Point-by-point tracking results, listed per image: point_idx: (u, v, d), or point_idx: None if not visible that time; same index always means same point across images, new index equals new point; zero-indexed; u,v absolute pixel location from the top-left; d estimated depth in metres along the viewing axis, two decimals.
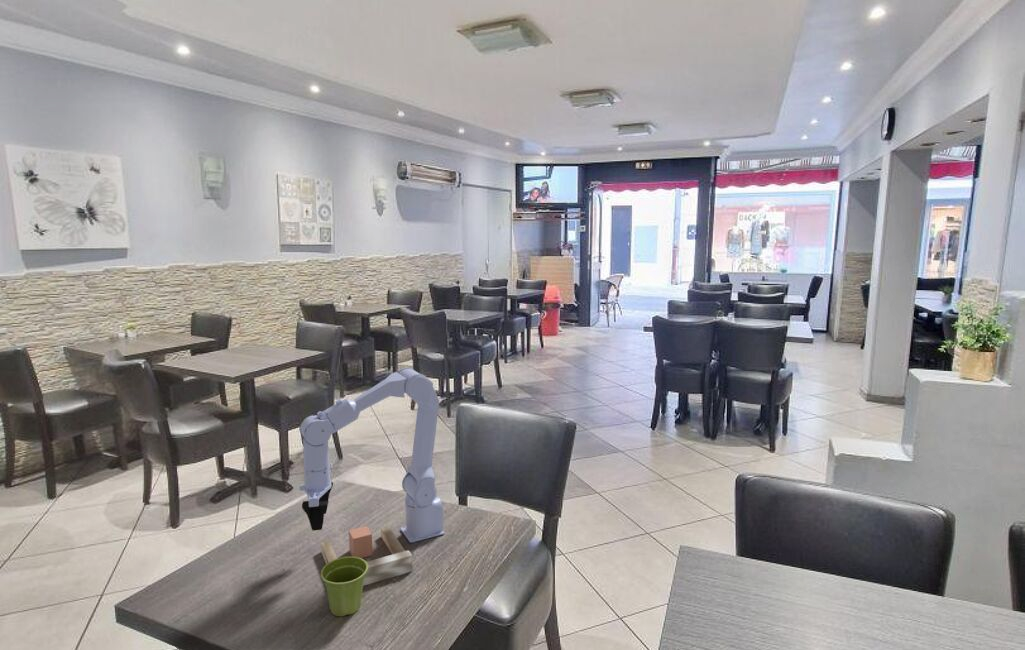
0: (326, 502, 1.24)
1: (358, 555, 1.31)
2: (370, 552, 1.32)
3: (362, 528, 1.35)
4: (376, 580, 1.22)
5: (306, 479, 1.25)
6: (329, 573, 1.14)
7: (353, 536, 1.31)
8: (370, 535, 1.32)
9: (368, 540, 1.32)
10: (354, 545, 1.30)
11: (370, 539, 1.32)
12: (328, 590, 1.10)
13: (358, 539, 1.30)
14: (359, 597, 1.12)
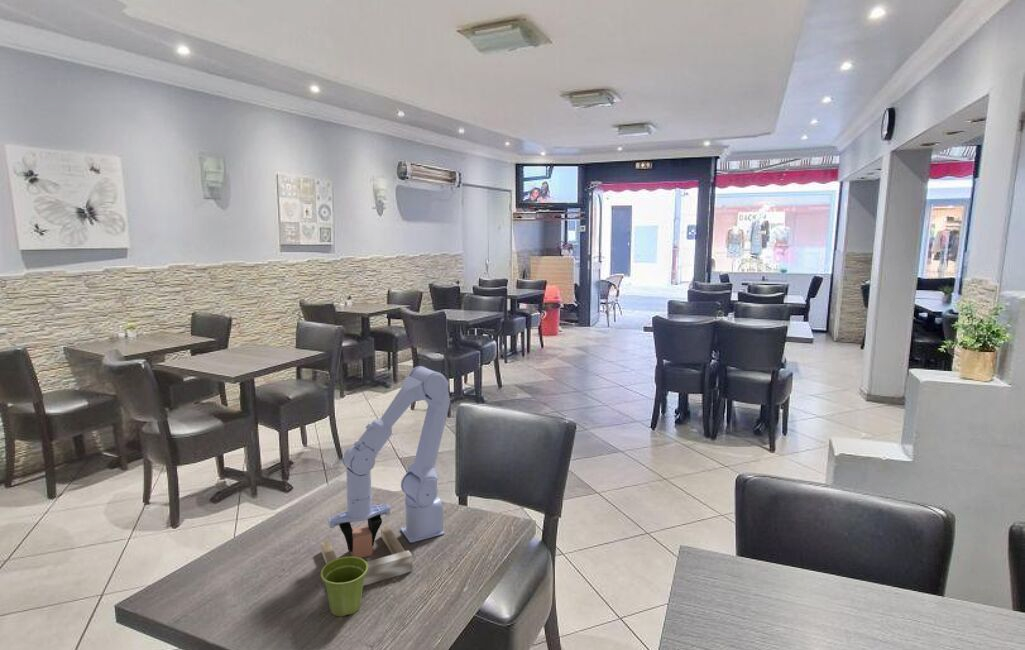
0: (347, 529, 1.28)
1: (358, 555, 1.31)
2: (370, 552, 1.32)
3: (362, 528, 1.35)
4: (376, 580, 1.22)
5: None
6: (329, 573, 1.14)
7: (353, 536, 1.31)
8: (370, 535, 1.32)
9: (368, 539, 1.32)
10: (354, 545, 1.30)
11: (370, 539, 1.32)
12: (328, 590, 1.10)
13: (358, 539, 1.30)
14: (359, 597, 1.12)
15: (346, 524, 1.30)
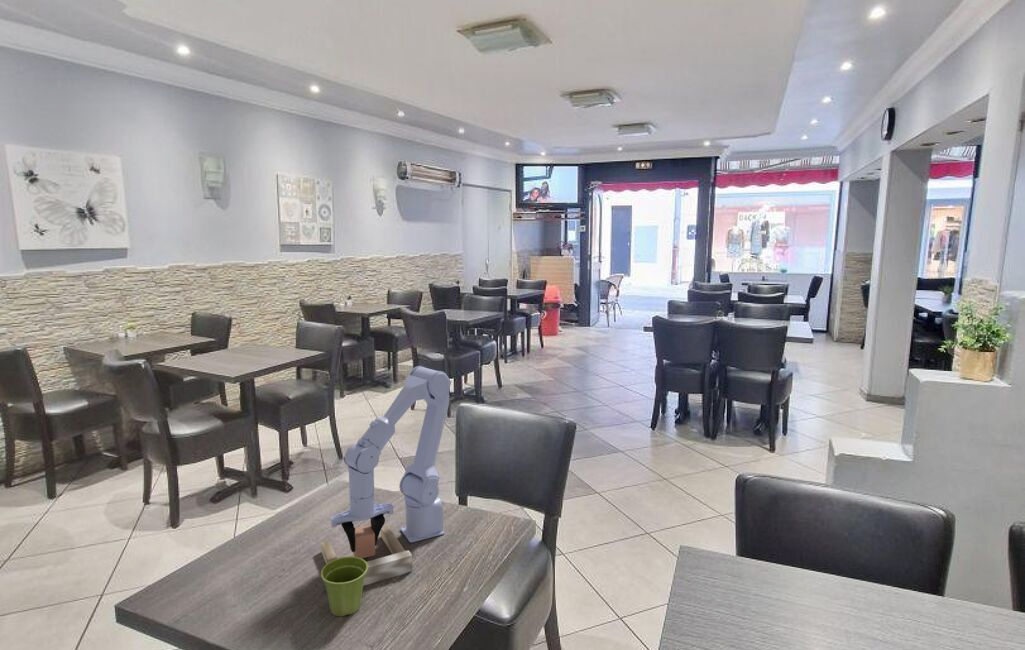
0: (350, 528, 1.26)
1: (361, 555, 1.28)
2: (373, 552, 1.30)
3: (365, 527, 1.32)
4: (376, 580, 1.22)
5: None
6: (329, 573, 1.14)
7: (356, 535, 1.28)
8: (373, 534, 1.29)
9: (371, 539, 1.29)
10: (357, 544, 1.28)
11: (373, 538, 1.29)
12: (328, 590, 1.10)
13: (360, 538, 1.28)
14: (359, 597, 1.12)
15: (348, 523, 1.27)
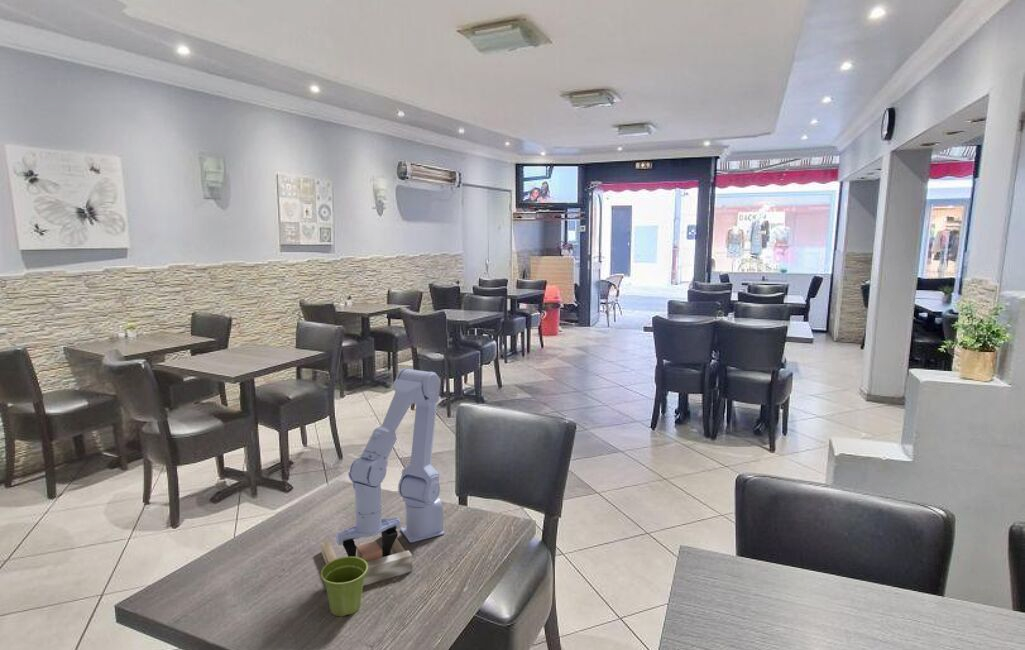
0: (351, 547, 1.21)
1: None
2: None
3: (371, 543, 1.28)
4: (376, 580, 1.22)
5: None
6: (329, 573, 1.14)
7: (362, 553, 1.24)
8: (380, 551, 1.25)
9: (378, 556, 1.25)
10: None
11: (380, 555, 1.25)
12: (328, 590, 1.10)
13: (367, 556, 1.23)
14: (359, 597, 1.12)
15: None
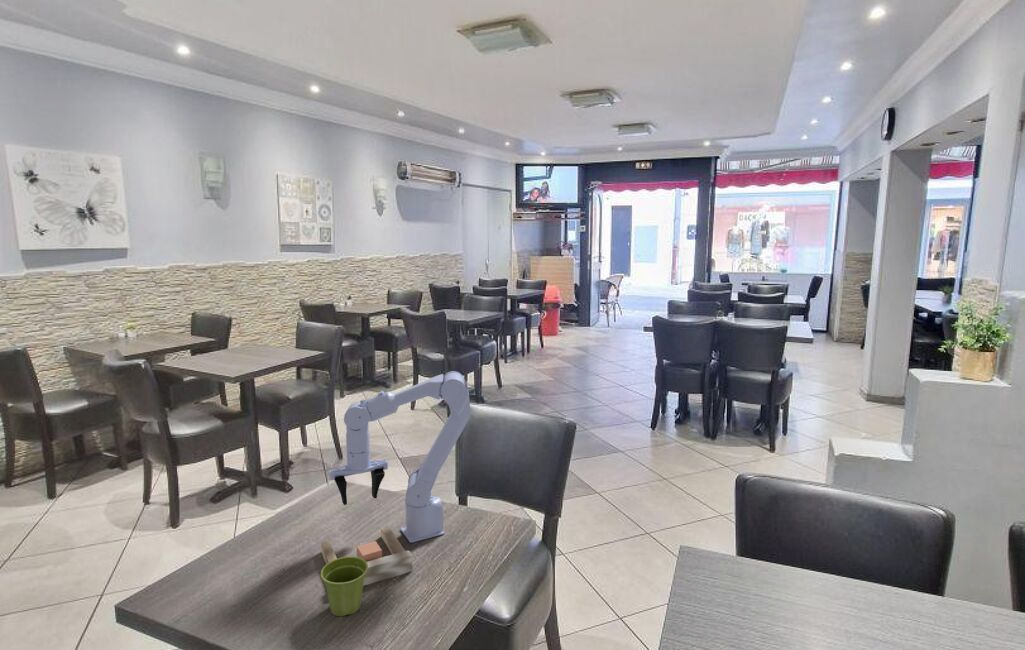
0: (342, 482, 1.34)
1: None
2: None
3: (371, 543, 1.28)
4: (376, 580, 1.22)
5: None
6: (329, 573, 1.14)
7: (362, 553, 1.24)
8: (380, 551, 1.25)
9: (378, 556, 1.25)
10: None
11: (380, 555, 1.25)
12: (328, 590, 1.10)
13: (367, 556, 1.23)
14: (359, 597, 1.12)
15: None
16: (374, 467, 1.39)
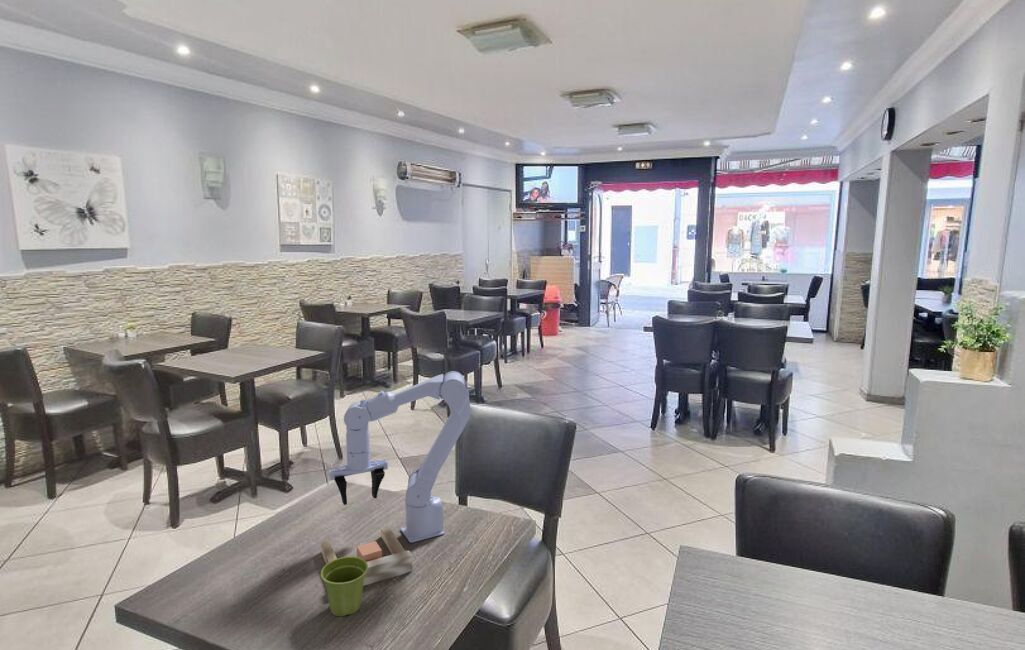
0: (342, 482, 1.35)
1: None
2: None
3: (371, 543, 1.28)
4: (376, 580, 1.22)
5: None
6: (329, 573, 1.14)
7: (362, 553, 1.24)
8: (380, 551, 1.25)
9: (378, 556, 1.25)
10: None
11: (380, 555, 1.25)
12: (328, 590, 1.10)
13: (367, 556, 1.23)
14: (359, 597, 1.12)
15: None
16: (374, 467, 1.39)
